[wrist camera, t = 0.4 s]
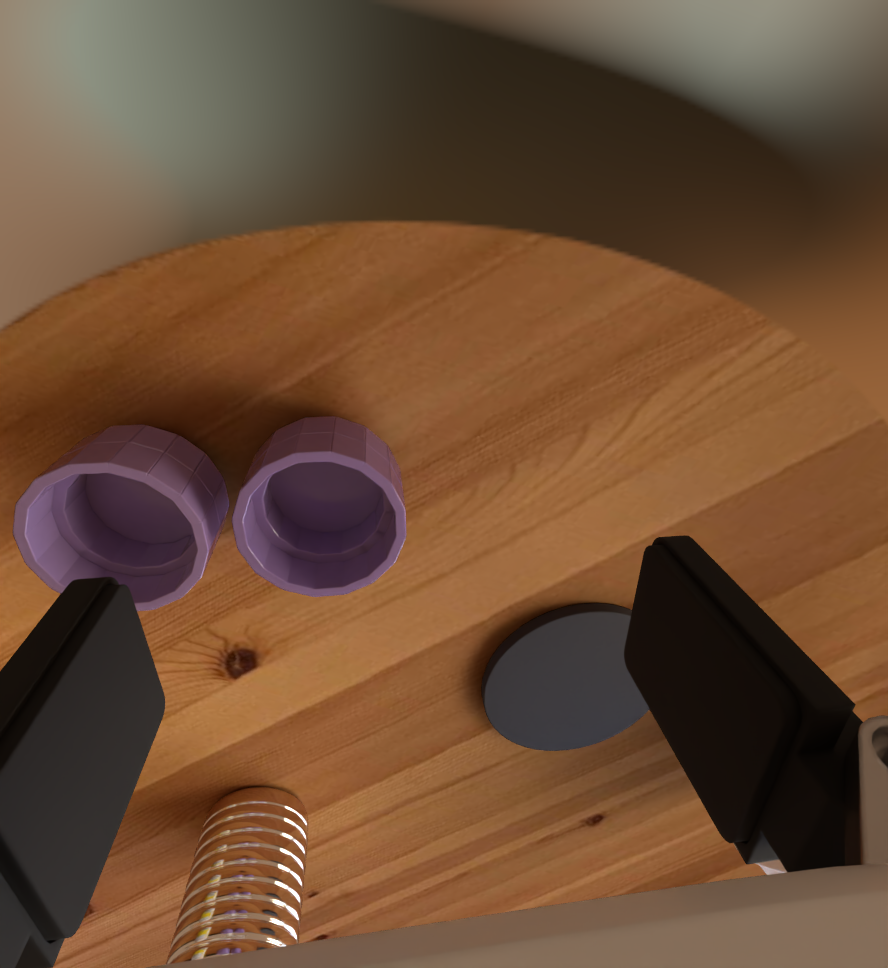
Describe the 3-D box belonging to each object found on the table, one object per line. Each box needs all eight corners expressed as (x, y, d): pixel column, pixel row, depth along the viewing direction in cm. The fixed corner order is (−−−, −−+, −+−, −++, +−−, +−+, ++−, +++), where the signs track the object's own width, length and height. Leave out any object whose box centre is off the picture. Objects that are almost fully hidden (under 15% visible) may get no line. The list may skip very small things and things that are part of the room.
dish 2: (242, 415, 24) (217, 456, 20) (397, 408, 25) (403, 447, 21) (265, 544, 27) (248, 602, 23) (402, 535, 28) (408, 589, 24)
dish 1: (48, 423, 23) (-17, 468, 19) (216, 416, 24) (186, 458, 20) (95, 556, 26) (48, 618, 22) (242, 546, 27) (221, 604, 23)
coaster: (484, 611, 31) (487, 621, 30) (681, 594, 33) (688, 603, 32) (478, 750, 37) (480, 760, 36) (646, 730, 38) (651, 740, 37)
